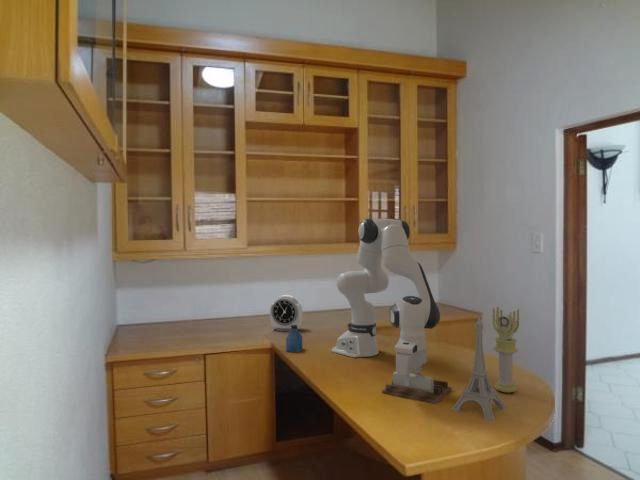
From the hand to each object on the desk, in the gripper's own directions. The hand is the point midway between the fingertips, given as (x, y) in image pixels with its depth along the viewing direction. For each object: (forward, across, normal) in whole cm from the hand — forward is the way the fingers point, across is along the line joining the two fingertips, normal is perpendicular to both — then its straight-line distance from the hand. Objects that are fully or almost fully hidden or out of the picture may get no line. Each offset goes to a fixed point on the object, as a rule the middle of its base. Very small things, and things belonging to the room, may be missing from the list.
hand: (412, 381), depth 163 cm
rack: (+5, -4, 0) cm, 6 cm away
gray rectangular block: (+4, 0, 0) cm, 4 cm away
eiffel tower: (+5, 0, +23) cm, 24 cm away
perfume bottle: (+5, -25, -71) cm, 75 cm away
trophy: (+5, -21, +27) cm, 35 cm away
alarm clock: (+5, -57, -100) cm, 115 cm away
